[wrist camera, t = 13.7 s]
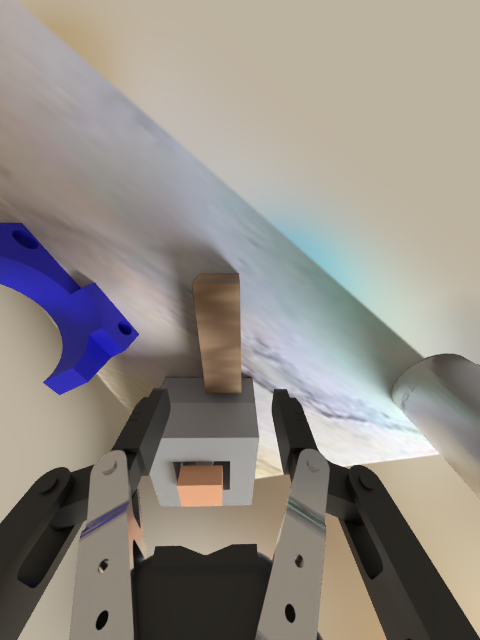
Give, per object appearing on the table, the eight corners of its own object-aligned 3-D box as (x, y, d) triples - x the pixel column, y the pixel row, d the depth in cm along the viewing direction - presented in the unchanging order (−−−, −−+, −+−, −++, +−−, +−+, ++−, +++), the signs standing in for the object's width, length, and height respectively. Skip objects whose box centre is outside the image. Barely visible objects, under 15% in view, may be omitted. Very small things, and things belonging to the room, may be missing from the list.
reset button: (223, 445, 19) (221, 485, 16) (223, 466, 21) (222, 505, 18) (185, 445, 19) (176, 485, 16) (189, 466, 21) (181, 506, 18)
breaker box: (252, 378, 22) (259, 437, 16) (247, 441, 28) (251, 504, 21) (165, 377, 22) (137, 438, 16) (177, 441, 27) (160, 506, 21)
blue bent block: (139, 333, 20) (103, 374, 14) (105, 350, 20) (59, 395, 15) (37, 213, 15) (-78, 206, 9) (-3, 241, 15) (-129, 249, 10)
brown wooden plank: (239, 283, 14) (241, 392, 19) (238, 272, 17) (240, 368, 22) (191, 284, 14) (206, 393, 19) (199, 273, 17) (210, 369, 22)
